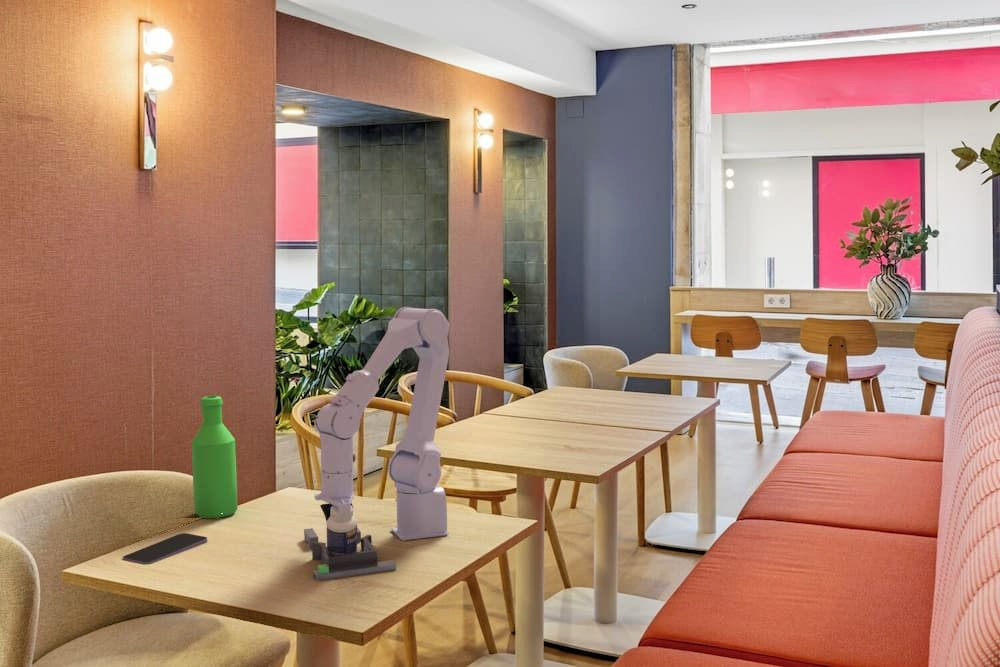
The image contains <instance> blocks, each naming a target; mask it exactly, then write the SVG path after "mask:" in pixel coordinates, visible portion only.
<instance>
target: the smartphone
mask: <svg viewBox="0 0 1000 667" xmlns="http://www.w3.org/2000/svg"><path fill="white" fill-rule="evenodd" d="M207 542H208V537H207V536H204V535H199V534H198V535H196V534H193V533H187V532H181V533H179V534H176V535H173V536H170V537H169V538H166V539H162V540H161V541H158V542H155V543H154V544H150V545H148V546H146V547H143V548H140V549H138V550H136V551H132V552H131V553H128V554H126V555H123V557H122V560H124V561H128V562H132V563H133V562H134V563H137V564H142V565H151V564H154V563H157V562H160V561H162V560H165V559H167V558H170V557H172V556H176V555H178V554H180V553H183V552H185V551H188V550H192V549H194V548H196V547H199V546H201V544H202V545H204V544H206V543H207Z"/></svg>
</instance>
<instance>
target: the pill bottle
mask: <svg viewBox="0 0 1000 667" xmlns="http://www.w3.org/2000/svg"><path fill="white" fill-rule="evenodd" d="M352 506H353V505H352ZM352 506H351V514H346V515H339V514H338V507H337V506H334V505H333V506H332V507H331V509H330V517H329V518H328V520H327V522H326V547H327V548H328V550H329V551H330V553H331V554H332V555H339V554H347V553H354V552H358V543H357V528H358V520H357V518H356V517H355V515H354V506H353V507H352Z"/></svg>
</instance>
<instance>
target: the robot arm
mask: <svg viewBox="0 0 1000 667" xmlns="http://www.w3.org/2000/svg"><path fill="white" fill-rule="evenodd" d="M450 327H451V324H450V322H449V321H448V319H447V318H446V316H445V315H444V313H443V312H442V311H441V310H439V309H436V308H417V307H411V306H403V307H401V308H398V310H397V311H396V312H395V314H394V316H393V317H392V318H391V319H390V320H389V322H388V326H387V331H386V333H385V334H384V336H383V337H382V338H381V341H380V342H379V343H378V346H377V347H376V348H375V350H374V352H373V353H372V355H371V357H370V358H369V359H368V361H367V362H366V364H365V365H364V367H363V368H362V369H360V370H359V369H358V370H354V371H353V372H352V373H348V375H346V377H345V380H346V382H344V383H343V385H342V387H341V388H340V389H339V391H338V392H337V394H336V395H334V396H333V397H332V398H331V402H330V403H328V404H325V405H323V406H322V407H321V408H320V410H319V411H318V413H317V415H316V419H314V420H313V423H314V427H315V429H316V431H317V432H318V433H319V434H318V435H319V441H320V493H316V494H314V499H315V501H323V502H325V503H323V504H320V505H319V506H320V509H321V510H322V513H323V515H324V519H325V521H326V523H327V520H328V518H329V517H330V509H331V507H332V506H333V505H334V506H337V507H338V514H339V515H346V514H351V506H352V507H353V508H354V505H353V500H354V498H355V493H354V492H353V491H354V485H353V484H354V453H353V452H354V435H355V434H356V433H357V432H358V431H359V430H360V427H361V418H362V416H363V413H364V411H365V410H366V408H367V407H368V406H369V404H370V403H371V401H372V400H373V398H374V397H375V396H376V394H377V393H378V392H379V390H380V384H379V379H381V378H382V376H383V375H384V373H385V372H386V371H387V370H388V369H389V368H390V366H391V365H392V364H393V363H394V362H395V360H396V359H397V358H398V357H399V355H400V354H401V353H402V352H403V351H404V350H405V349H409V348H412V349H413V351H415V353H416V355H417V356H418V357H419V361H418V367H417V372H416V377H415V378H416V379H415V383H414V389H413V393H412V394H413V395H412V399H411V405H410V409H409V410H410V411H409V415H408V421H407V427H406V433H405V437H404V438H403V439H401V440H400V441H399V442H398V443H396V446H395V449H394V453H393V455H392V456H391V458H390V460H389V462H388V468H387V471H388V472H387V473H388V476H389V478H390V480H391V481H393V483H394V487H395V489H396V490H395V491H396V492H395V493H396V494H395V495H396V524H397V525H396V526H392V527H390V528H391V531H392V532H393V533H394V534H395V535H396V537H398V539H399V540H400V541H402V542H403V541H411V540H419V539H425V538H426V539H427V538H434V537H442V536H448V535H449V532H448V505H447V496H446V492H445V489H444V488H443V487H442V486H440V485H438V484H439V482H440V481H441V476H442V469H441V462H440V461H441V456H442V455H441V454H442V453H441V452H440V450H439V448H438V447H437V445H436V444H435V442H434V439H435V434H436V429H437V423H438V418H439V412H440V408H441V401H442V396H443V392H444V391H443V390H444V384H445V379H446V375H447V374H446V373H447V368H448V363H449V359H450V358H449V357H450V347H449V341H448V337H449V331H450ZM437 485H438V486H437Z"/></svg>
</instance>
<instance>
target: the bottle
mask: <svg viewBox="0 0 1000 667" xmlns="http://www.w3.org/2000/svg"><path fill="white" fill-rule="evenodd" d="M222 398H223V397H222V396H218V395H207V396H203V397H202V398H201V399H200V404H199V406H200V407H202V410H201V411H202V412H201V413H202V425H201V426H200V427H199V430H198V432H197V433H196V434H195V436H194V437H193V438H192V441H191V460H192V462H191V463H192V466H191V467H192V483H193V504H194V505H193V506H194V514H196V515H197V516H198V517H200V518H202V519H207V518H209V519H211V518H214V519H222V518H227V517H229V516H232V515H233V514H235V513H236V511H237V510H238V507H239V506H238V483H237V482H238V481H237V480H238V479H237V461H236V460H237V457H236V439H235V437H234V436H233V434H231V432H230V431H229V430H228V429H227V426H226V425H224V423H223V414H222V413H223V412H222V410H223V409H222V406H223V404H224V402H223V399H222ZM221 513H223V514H221ZM225 516H226V517H225ZM221 517H222V518H221Z"/></svg>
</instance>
